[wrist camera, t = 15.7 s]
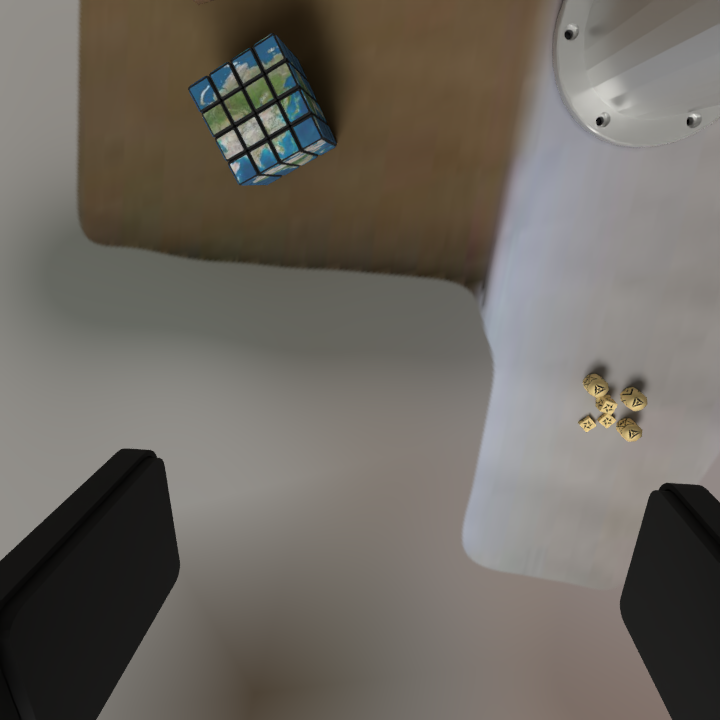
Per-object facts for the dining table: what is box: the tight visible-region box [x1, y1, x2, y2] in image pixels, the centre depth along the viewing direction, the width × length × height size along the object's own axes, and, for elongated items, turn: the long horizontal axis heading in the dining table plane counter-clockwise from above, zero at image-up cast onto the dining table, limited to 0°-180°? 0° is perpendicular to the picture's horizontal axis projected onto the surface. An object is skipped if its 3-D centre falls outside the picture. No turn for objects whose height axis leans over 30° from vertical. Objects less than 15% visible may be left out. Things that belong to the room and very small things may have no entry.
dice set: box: [578, 374, 647, 442], centre depth 37 cm, size 5×5×2 cm
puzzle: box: [188, 34, 337, 185], centre depth 30 cm, size 6×6×6 cm
